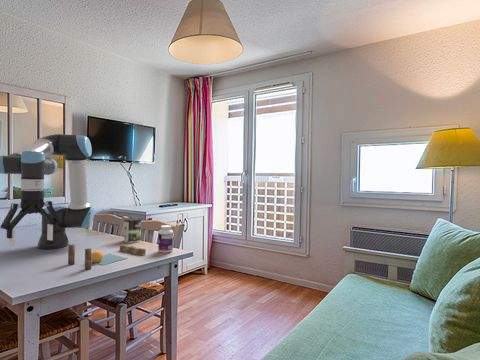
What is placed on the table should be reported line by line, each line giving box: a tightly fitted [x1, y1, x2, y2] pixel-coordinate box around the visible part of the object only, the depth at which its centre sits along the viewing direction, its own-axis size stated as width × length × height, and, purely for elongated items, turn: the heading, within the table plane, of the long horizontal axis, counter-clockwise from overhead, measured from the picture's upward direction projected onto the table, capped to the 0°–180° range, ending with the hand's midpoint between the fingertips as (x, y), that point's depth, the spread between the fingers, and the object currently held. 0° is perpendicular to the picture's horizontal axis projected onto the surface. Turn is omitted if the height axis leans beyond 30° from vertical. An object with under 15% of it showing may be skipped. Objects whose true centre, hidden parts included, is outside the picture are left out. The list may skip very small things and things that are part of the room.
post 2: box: [84, 247, 93, 271], centre depth 131 cm, size 3×3×9 cm
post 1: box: [67, 244, 76, 266], centre depth 137 cm, size 3×3×9 cm
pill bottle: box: [157, 224, 174, 254], centre depth 164 cm, size 8×8×14 cm
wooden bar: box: [119, 244, 147, 256], centre depth 160 cm, size 18×2×3 cm, turn 61°
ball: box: [91, 250, 104, 264], centre depth 141 cm, size 6×6×6 cm
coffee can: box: [123, 217, 142, 244], centre depth 187 cm, size 10×10×14 cm
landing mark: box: [91, 253, 128, 266], centre depth 146 cm, size 14×14×1 cm
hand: (32, 243), depth 117 cm, fingers open, 13 cm apart
